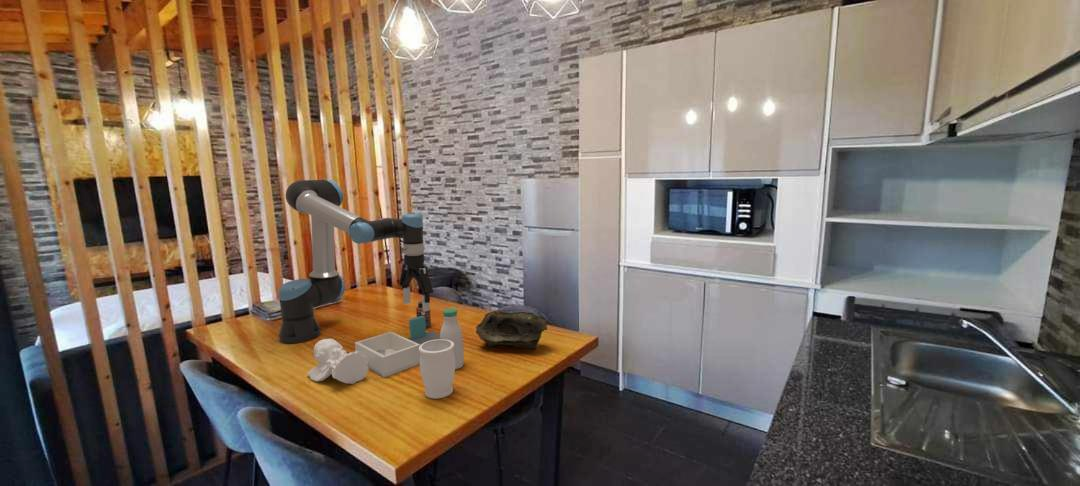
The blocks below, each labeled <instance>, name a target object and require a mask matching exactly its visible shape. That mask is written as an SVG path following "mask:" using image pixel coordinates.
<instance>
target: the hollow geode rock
mask: <svg viewBox="0 0 1080 486" xmlns="http://www.w3.org/2000/svg"><path fill="white" fill-rule="evenodd" d="M483 317H484V318H483V319H482V320H481V322H480V323H479V324H478V325H476V327H475V329H476V330H475V331H476V332H475V334H476V335H477V336H478V337H479V339H480V340H482V341H483V342H485V344H487V345H488V348H489V347H493V346H494V347H495V346H497V345H503V346H506V345H507V346H514V347H515V348H523V349H529V350H536V349H537V346H538V343H539V342H540V339H541V338H542V335H543V332H544V331H548V326H547V325H548V321H547V319H546V318H545V317H542V316H538V315H535V314H534V313H533V312H532V313H531V312H526V311H523V312H521V311H520V312H512V313H508V312H507V313H506V312H497V311H490V312H487V313H486V314H484V316H483Z"/></svg>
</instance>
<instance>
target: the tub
mask: <svg viewBox="0 0 1080 486" xmlns="http://www.w3.org/2000/svg"><path fill="white" fill-rule="evenodd" d="M419 346H420V344H418V343H416V342H413V341H411V340H409V339H408V338H406V337H404V336H402V335H399V334H397V333H395V332H392V331H389V332H385V333H381V334H379V335H375V336H372V337H368V338H365V339H362V340H359V341H355V342H354V352H355V351H359V352H360V353H361V354H362V355H364V356H365V357H366V358H367V360H368V365H367V366H368V367H369V369H368V370H370V371H372V372H374V373H375V374H377V375H379V376H381V377H383V378H387V377H390V376H392V375H395V374H397V373H400V372H403V371H406V370H408V369H410V368H414V367H417V366H418V365H419V366H420V355H421V353H420V352H419ZM376 349H378V350H384V351H385V352H386V355H385V356H384V355H382V354H380V353H378V352H376V351H374V350H376ZM393 352H394V353H393Z"/></svg>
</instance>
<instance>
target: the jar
mask: <svg viewBox="0 0 1080 486" xmlns="http://www.w3.org/2000/svg"><path fill="white" fill-rule="evenodd" d="M453 349H454V343H453V342H452V341H450V340H446V339H437V340H431V341H427V342H425V343H423V344H421V345H420V346H419V352H420V353H421V355H420V364H419V371H420V375H421V379H422V383H423V385H424V388H425V391H424V394H425V396H426V397H427V398H429V399H434V400H435V399H437V400H439V399H442V398H446V397H449V396H450V395H451V394H452V393H454V388H453V383H454V380H455V372H456V371H455V370H456V369H455V356H454V352H453Z"/></svg>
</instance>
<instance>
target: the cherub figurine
mask: <svg viewBox="0 0 1080 486" xmlns="http://www.w3.org/2000/svg"><path fill="white" fill-rule="evenodd" d="M313 356H314V359H315V360H316V361H317V362H318V364H317V365H316V366H315V367H312V368H311V369H310V370H309V371H308V373H307V376H308V377H309V379H310V380H312V381H314V382H317V383H318V382H322V381H325V380H326V379H327V378H329V377H330V376H332V378H333V379H336V380H337V381H339V382H341V383H344V384H352V385H354V384H355V383H357V382H360V381H363V380H364V378H365V377H366V375H368V371H369V370H370V369H369V367H368V366H367V365H368V360H367V358H366V357H365V356H364V355H362V354H361V353H360V352H359V351H355V350H354V351H352V352H351V351H350V352H349V353H347V351H346V350H344V348H343V346H342V344H340V343H339V342H338V341H336V340H335V339H333V338H324V339H320V340H318V341H317V342H316V343H315V345H314V347H313Z"/></svg>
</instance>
